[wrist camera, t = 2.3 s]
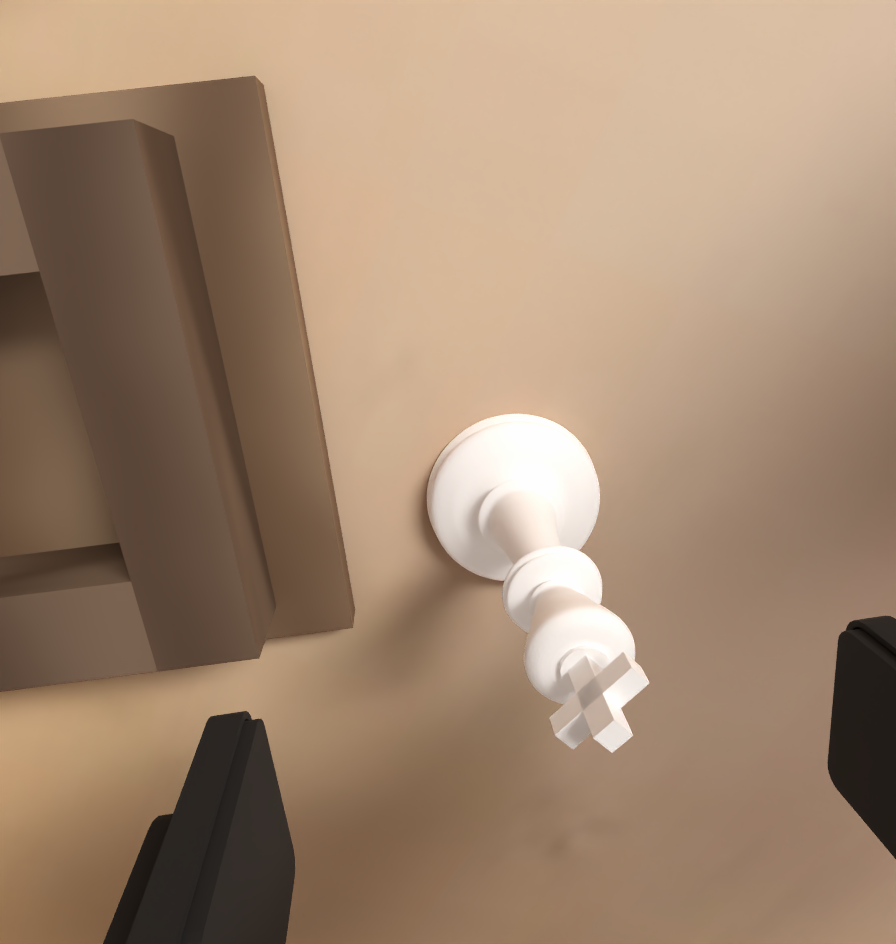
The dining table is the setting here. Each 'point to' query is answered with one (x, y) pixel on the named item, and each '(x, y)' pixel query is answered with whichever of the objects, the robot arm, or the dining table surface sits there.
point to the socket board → (253, 347)
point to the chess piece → (540, 563)
